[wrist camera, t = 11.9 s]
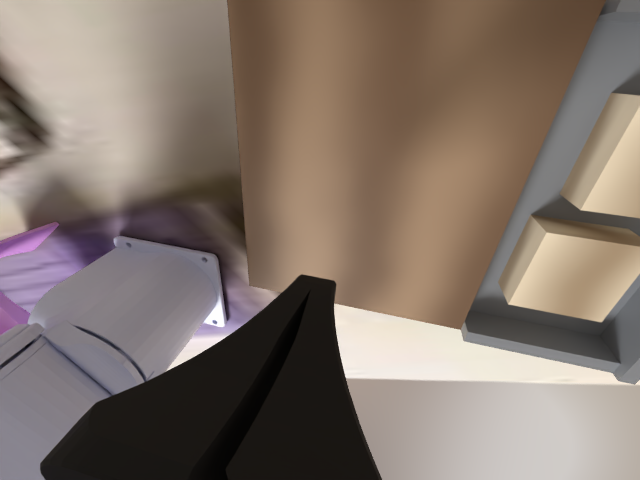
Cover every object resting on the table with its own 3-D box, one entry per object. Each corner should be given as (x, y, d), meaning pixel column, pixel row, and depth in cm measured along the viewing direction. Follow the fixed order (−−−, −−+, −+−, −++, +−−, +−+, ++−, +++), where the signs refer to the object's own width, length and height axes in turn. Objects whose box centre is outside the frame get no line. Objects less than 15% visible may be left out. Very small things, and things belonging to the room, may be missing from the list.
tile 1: (497, 282, 18) (508, 304, 16) (530, 214, 15) (546, 232, 14) (581, 297, 17) (601, 322, 15) (628, 228, 15) (658, 249, 13)
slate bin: (454, 302, 21) (465, 347, 17) (574, 1, 12) (641, -25, 9) (593, 329, 19) (634, 384, 16) (840, 10, 11) (1040, -17, 7)
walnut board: (265, 261, 23) (249, 285, 20) (255, 1, 15) (226, -13, 12) (453, 297, 21) (460, 329, 18) (564, 13, 12) (606, -1, 10)
